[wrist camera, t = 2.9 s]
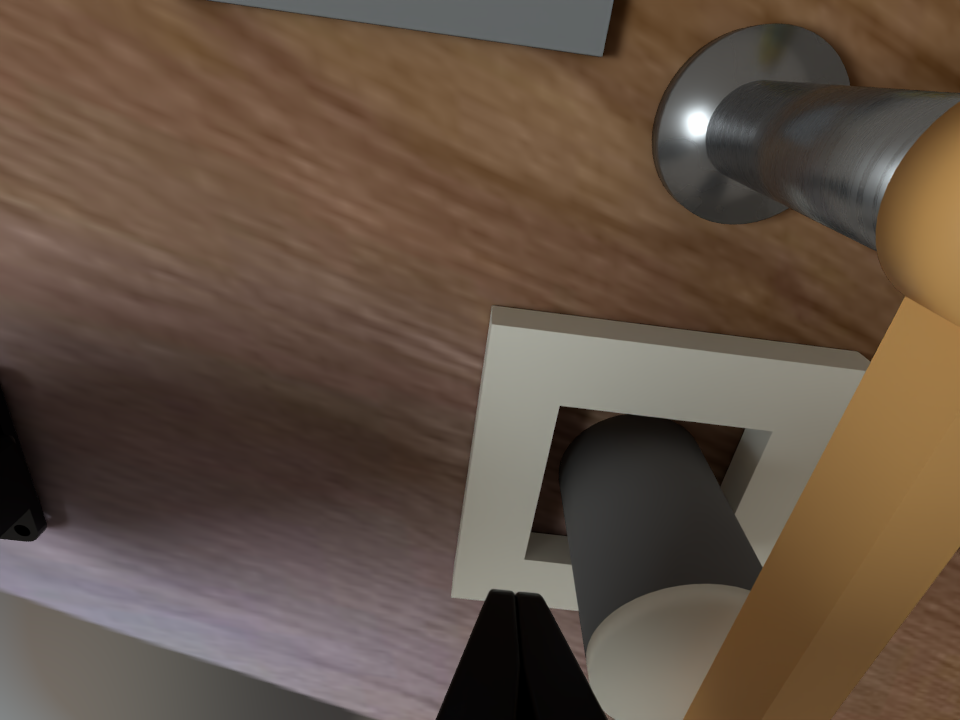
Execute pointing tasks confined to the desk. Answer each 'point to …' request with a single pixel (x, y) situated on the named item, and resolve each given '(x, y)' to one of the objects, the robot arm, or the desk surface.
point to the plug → (651, 563)
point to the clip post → (784, 132)
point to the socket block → (639, 391)
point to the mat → (473, 19)
